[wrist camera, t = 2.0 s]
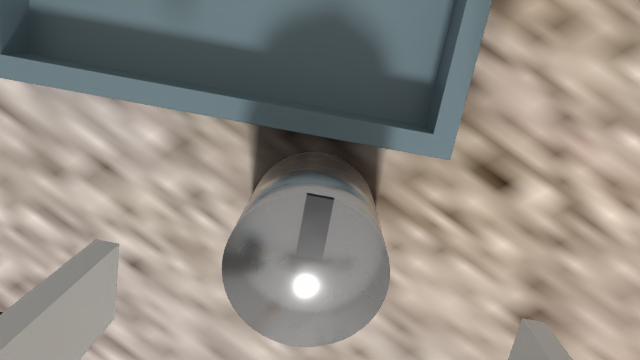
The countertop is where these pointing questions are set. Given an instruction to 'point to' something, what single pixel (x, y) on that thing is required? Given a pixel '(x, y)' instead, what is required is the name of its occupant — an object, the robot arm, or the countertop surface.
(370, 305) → the knob
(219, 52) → the parts tray
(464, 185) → the countertop surface
